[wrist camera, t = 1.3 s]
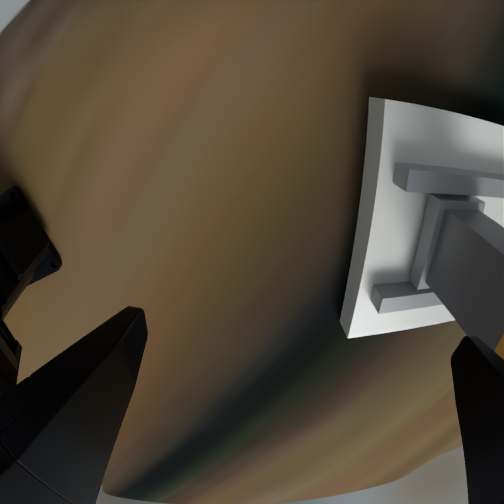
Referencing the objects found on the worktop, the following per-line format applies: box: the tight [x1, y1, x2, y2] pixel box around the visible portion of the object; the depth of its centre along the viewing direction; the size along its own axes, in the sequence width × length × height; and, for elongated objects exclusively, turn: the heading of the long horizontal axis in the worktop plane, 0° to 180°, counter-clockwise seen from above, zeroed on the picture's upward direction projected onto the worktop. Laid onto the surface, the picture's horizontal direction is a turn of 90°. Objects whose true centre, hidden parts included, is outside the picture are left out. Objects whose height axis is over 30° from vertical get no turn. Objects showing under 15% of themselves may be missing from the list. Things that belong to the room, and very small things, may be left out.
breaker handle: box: [409, 193, 504, 359], centre depth 14 cm, size 4×6×10 cm, turn 0°
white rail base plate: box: [340, 97, 504, 338], centre depth 19 cm, size 17×16×4 cm
